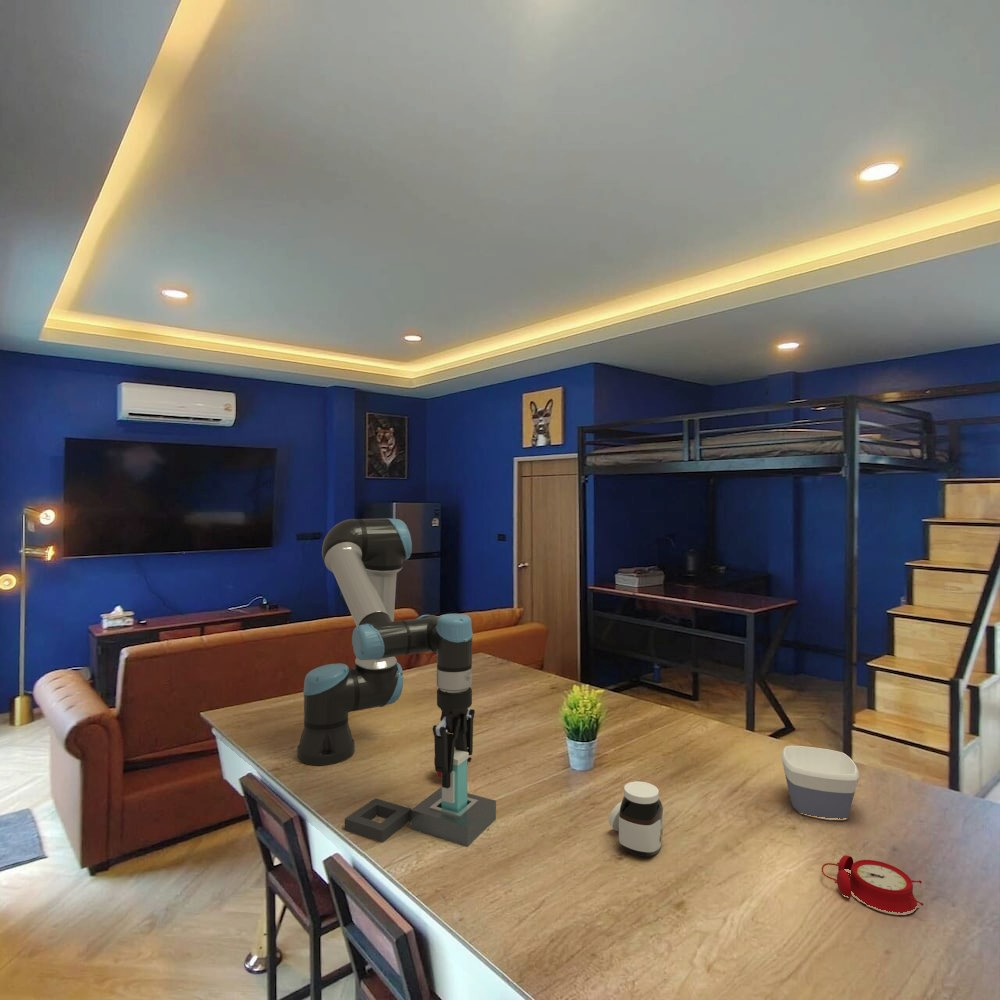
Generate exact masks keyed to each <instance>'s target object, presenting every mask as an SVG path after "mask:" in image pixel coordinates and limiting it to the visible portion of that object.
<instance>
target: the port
mask: <svg viewBox="0 0 1000 1000" xmlns="http://www.w3.org/2000/svg"><path fill="white" fill-rule="evenodd" d="M495 820H497V800H495V799H492V798H488V797H484V796H480V795H476V794H472V793H468V792H467V806H466V807H465V808H463V809H462V810H461V811H460V812H459V813H457V812H454V811H450V810H447V809H443V808H442V786H440V787H439V788H438V789H436V790H435V791H434V792H433V793H431V794H430V795H428V796H427V797H426V798H425V799H423V800H422V801H421V802H419V803H418V804H417V805H415V806H414V807H412V808H411V821H410V829H411V830H413V831H417V832H420V833H423V834H427V835H429V836H432V837H437V838H440V839H442V840H446V841H448V842H453V843H456V844H459V845H462V846H465V847H469V846H470V845H471V844H472V843H473V842H474V841H475V840H476V839H477V838H478V837H480V835H481V834H482V833H483V832H484V831H485V830H486V829H487V828H489V826H490V825H492V823H493V822H494V821H495Z"/></svg>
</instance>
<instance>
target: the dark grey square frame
mask: <svg viewBox="0 0 1000 1000" xmlns="http://www.w3.org/2000/svg"><path fill="white" fill-rule="evenodd" d="M411 809H412V808H410V807H408V806H404V805H401V804H397V803H393V802H390V801H386V800H384V799H379V798H374V799H372V800H370V801H369V802H368V803H366V804H365V805H363V806H361V807H360V808H358V809H357V810H355V811H354V812H352V813H351V814H349V815H348V816H346V817H345V818H344V831H345V832H346V831H347V832H349V833H353V834H356V835H359V836H362V837H364V838H368V839H371V840H373V841H376V842H380V843H384V842H385V841H387V840H388V839H390V838H391V836H393V835H394V834H395V833H397V832H398V831H399V830H400V829H402V828H403V827H405V825H407V824H408V823H409V822H411ZM375 816H376V817H380V818H384V820H383V821H381V822H378V821H376V820H373V819H374V818H375Z"/></svg>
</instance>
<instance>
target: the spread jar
mask: <svg viewBox="0 0 1000 1000" xmlns="http://www.w3.org/2000/svg"><path fill="white" fill-rule="evenodd" d="M659 792H660V791H659V788H658V787H657V786H656V785H654V784H652V783H649V782H645V781H639V780H638V781H630V782H627V783H626V784H624V786H623V795H624V796H623V797H622V800H621V801H619V802H618V803H617V804H616V805H615V806H614V807H613V809H612V810H611V812H610V814H609V817H608V824H609V826H610V827H611V828H612V829H613V830H614V831H617V832H618V840H619V841H618V842H619V844H620V846H621V847H622V848H623V849H624V850H625V851H627V852H628V853H630V854H632V855H634V856H638V857H645V858H646V857H652V856H655V855H657V854H658V853H659V852H660V850H661V846H662V843H663V836H664V835H663V834H664V808H663V807H664V806H663V803H662V801H661V799H660V798H659Z"/></svg>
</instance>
